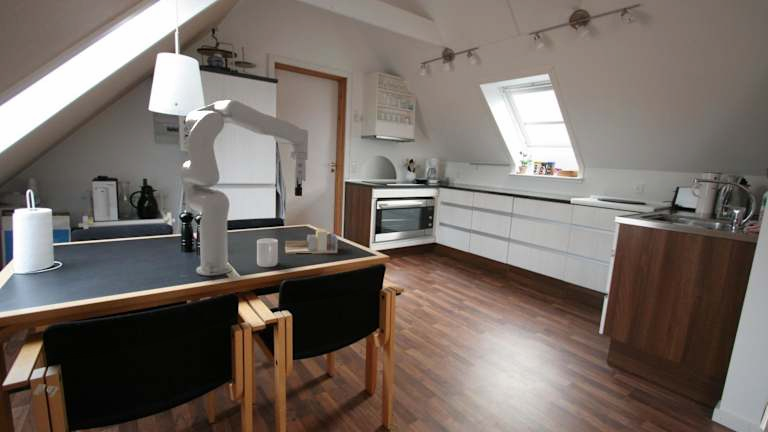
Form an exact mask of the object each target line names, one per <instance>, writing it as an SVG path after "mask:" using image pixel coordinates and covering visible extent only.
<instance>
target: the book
mask: <svg viewBox="0 0 768 432" xmlns="http://www.w3.org/2000/svg"><path fill="white" fill-rule="evenodd" d="M327 234H328V231H327V230H326V229H324V228H320V229H315V235H316V236H317V251H327Z"/></svg>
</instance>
